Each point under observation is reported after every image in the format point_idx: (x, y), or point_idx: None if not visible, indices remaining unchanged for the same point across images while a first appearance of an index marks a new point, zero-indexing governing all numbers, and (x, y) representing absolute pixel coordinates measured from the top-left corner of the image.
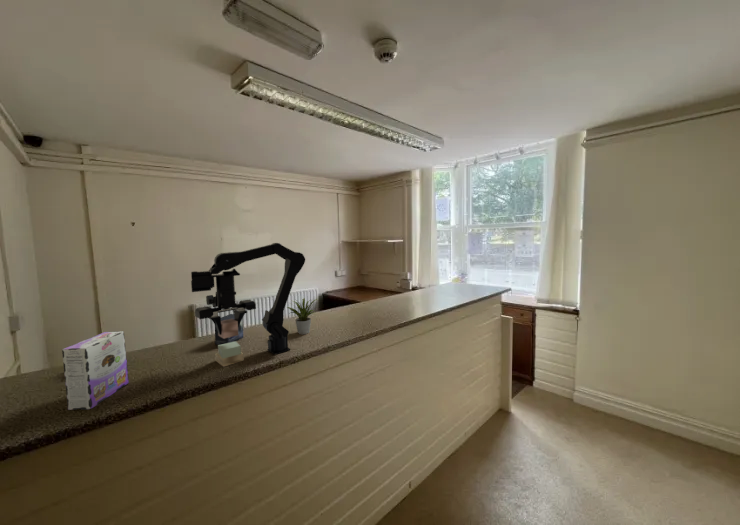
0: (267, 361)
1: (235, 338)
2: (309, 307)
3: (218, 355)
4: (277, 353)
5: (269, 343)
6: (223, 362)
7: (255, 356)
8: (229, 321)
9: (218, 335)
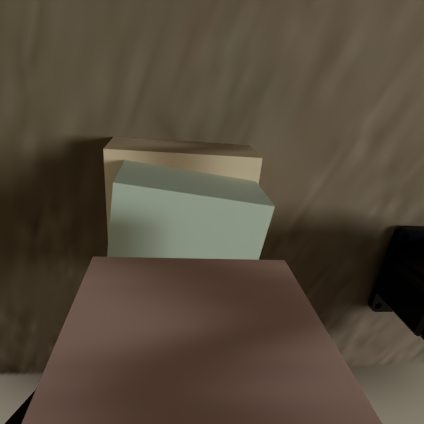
0: None
1: None
2: None
3: (110, 203)
4: (379, 308)
5: (410, 307)
6: None
7: (303, 253)
8: None
9: (92, 263)
